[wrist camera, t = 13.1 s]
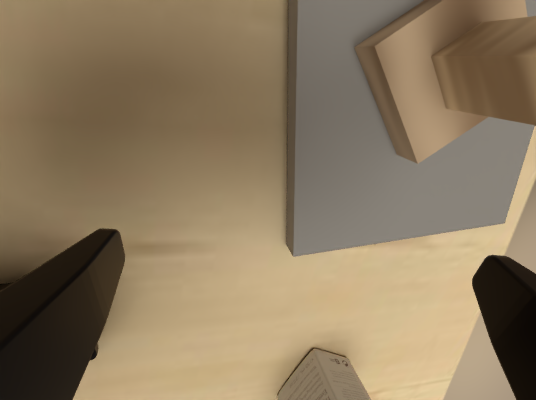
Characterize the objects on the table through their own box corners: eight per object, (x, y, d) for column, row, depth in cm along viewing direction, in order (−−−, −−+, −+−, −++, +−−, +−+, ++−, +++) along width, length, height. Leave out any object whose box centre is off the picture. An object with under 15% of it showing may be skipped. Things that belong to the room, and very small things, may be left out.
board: (487, 214, 26) (504, 223, 25) (286, 245, 23) (293, 256, 21) (622, -263, 16) (663, -292, 15) (291, -351, 12) (305, -402, 11)
